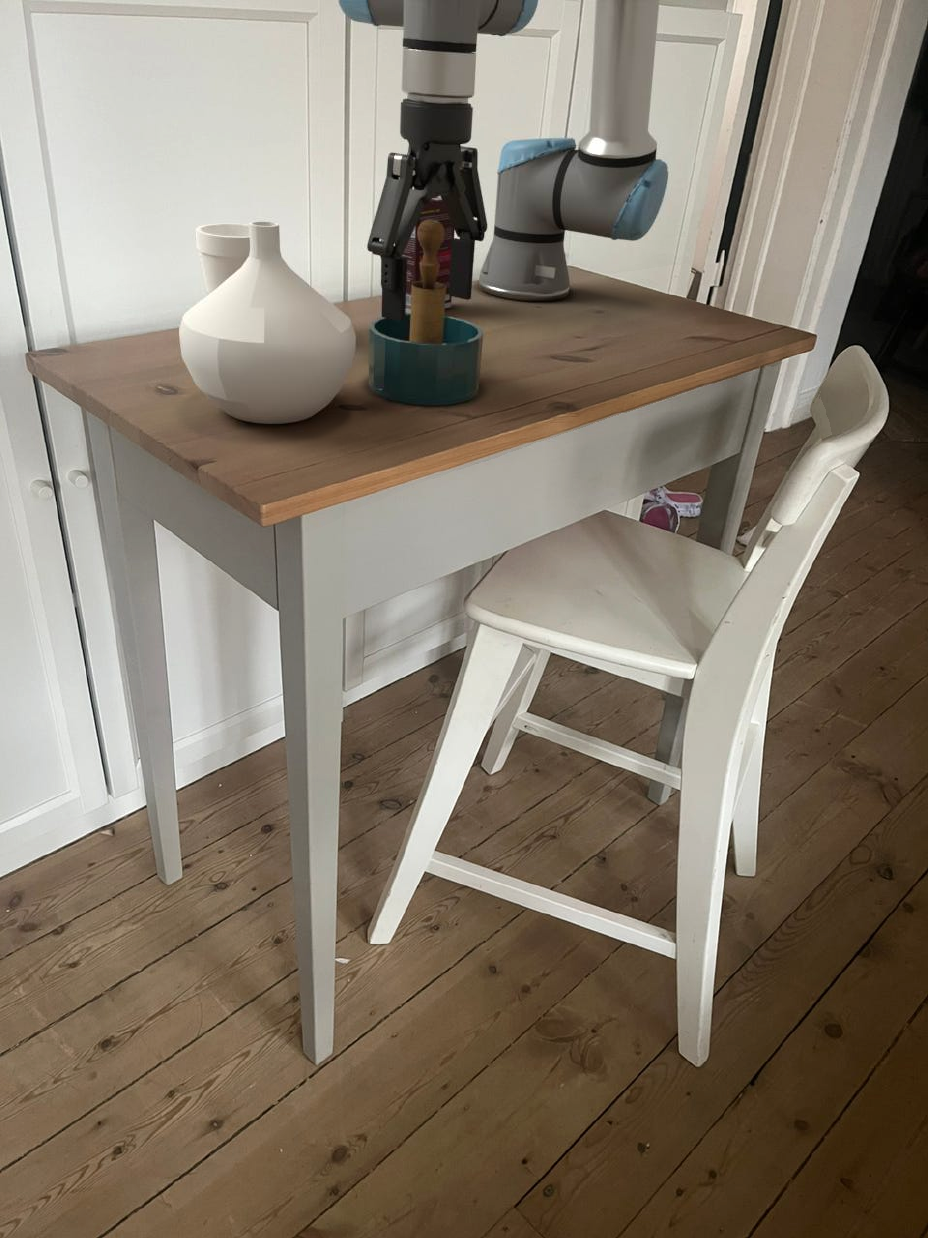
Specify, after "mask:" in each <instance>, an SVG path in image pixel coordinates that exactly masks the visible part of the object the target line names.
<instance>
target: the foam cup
mask: <svg viewBox="0 0 928 1238" xmlns="http://www.w3.org/2000/svg"><path fill="white" fill-rule="evenodd" d="M194 231H195V244H196V249H197V251H198V254H199V260H200V265H201V269H202V275H203V278H204V283H205V288H206V294H207V296H208V295H209V294H210V293H211V292H213V291H214V290H215V289H216V288H218V287H219V286H220V285H221V284H222V283H223V282H225V281H226V280H227V279H228V278H229V277H230V276H232V275H233V274H234V273H235V272H236V271H237V270H239V269H240V268H241V267H242V265H243V264H244V263H245V261H246V260H247V258H248V257H249V254H250V231H249V224H247V223H233V222H231V223H230V222H221V223H220V222H219V223H208V224H203V225H199V226H197V227H196V228H195V230H194Z"/></svg>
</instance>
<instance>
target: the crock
mask: <svg viewBox="0 0 928 1238" xmlns="http://www.w3.org/2000/svg"><path fill="white" fill-rule="evenodd" d="M410 317H411V313H410V314H407V313H406V315H405V321H402V322H400V321H396V320H392V319H388V318H384V317H382V316H380V317H378V318H375V319H374V320H372V321H370V323H369V333H368V334H369V336H368V337H369V341H368V342H369V344H368V386H369V388H370V390H371V391H372V392H373V393H374V394H376V395H378V396H380V397H381V398H384V399H386V400H390V401H394V402H397V403H401V404H406V405H416V406H430V407H431V406H432V407H433V406H449V405H456V404H460V403H464V402H467V401H469V400H471V399H473V398H475V397H476V396H477V395H478V393H479V387H480V381H481V369H482V357H483V356H482V355H483V343H484V332H483V331H484V330H483V329H482V328H481V327H480V326H479V325H477V324H476V323H474V322H471V321H468V320H466V319H463V318H458V317H454V316H449V315H444V324H443V339H442V344H431V343H417V342H410V341H409V337H410Z"/></svg>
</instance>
